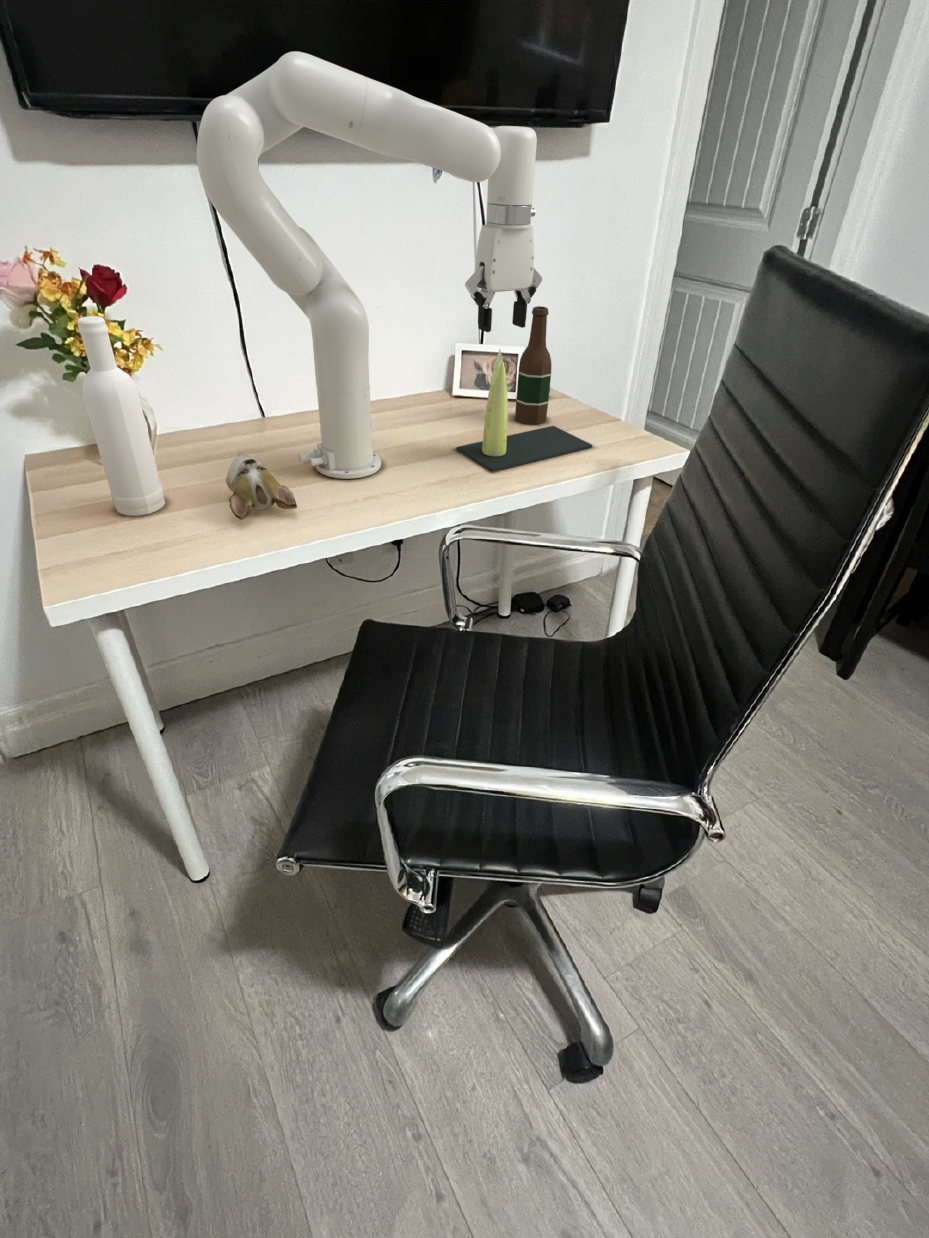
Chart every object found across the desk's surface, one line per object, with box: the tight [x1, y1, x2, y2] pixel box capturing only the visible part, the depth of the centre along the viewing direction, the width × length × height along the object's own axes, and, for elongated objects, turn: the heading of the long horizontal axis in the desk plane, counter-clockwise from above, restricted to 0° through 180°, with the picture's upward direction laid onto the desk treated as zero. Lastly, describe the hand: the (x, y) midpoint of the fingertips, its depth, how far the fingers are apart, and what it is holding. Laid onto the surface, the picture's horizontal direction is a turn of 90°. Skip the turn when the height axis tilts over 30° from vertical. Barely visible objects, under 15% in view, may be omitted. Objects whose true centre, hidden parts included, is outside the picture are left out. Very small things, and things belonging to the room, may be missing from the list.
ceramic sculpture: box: [225, 451, 298, 521], centre depth 116 cm, size 11×9×15 cm
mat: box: [455, 425, 593, 473], centre depth 144 cm, size 26×13×1 cm, turn 124°
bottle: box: [76, 315, 166, 517], centre depth 108 cm, size 8×8×30 cm
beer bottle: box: [514, 305, 552, 426], centre depth 151 cm, size 8×8×24 cm
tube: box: [482, 348, 509, 457], centre depth 134 cm, size 6×5×20 cm
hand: (501, 327), depth 126 cm, fingers open, 7 cm apart
